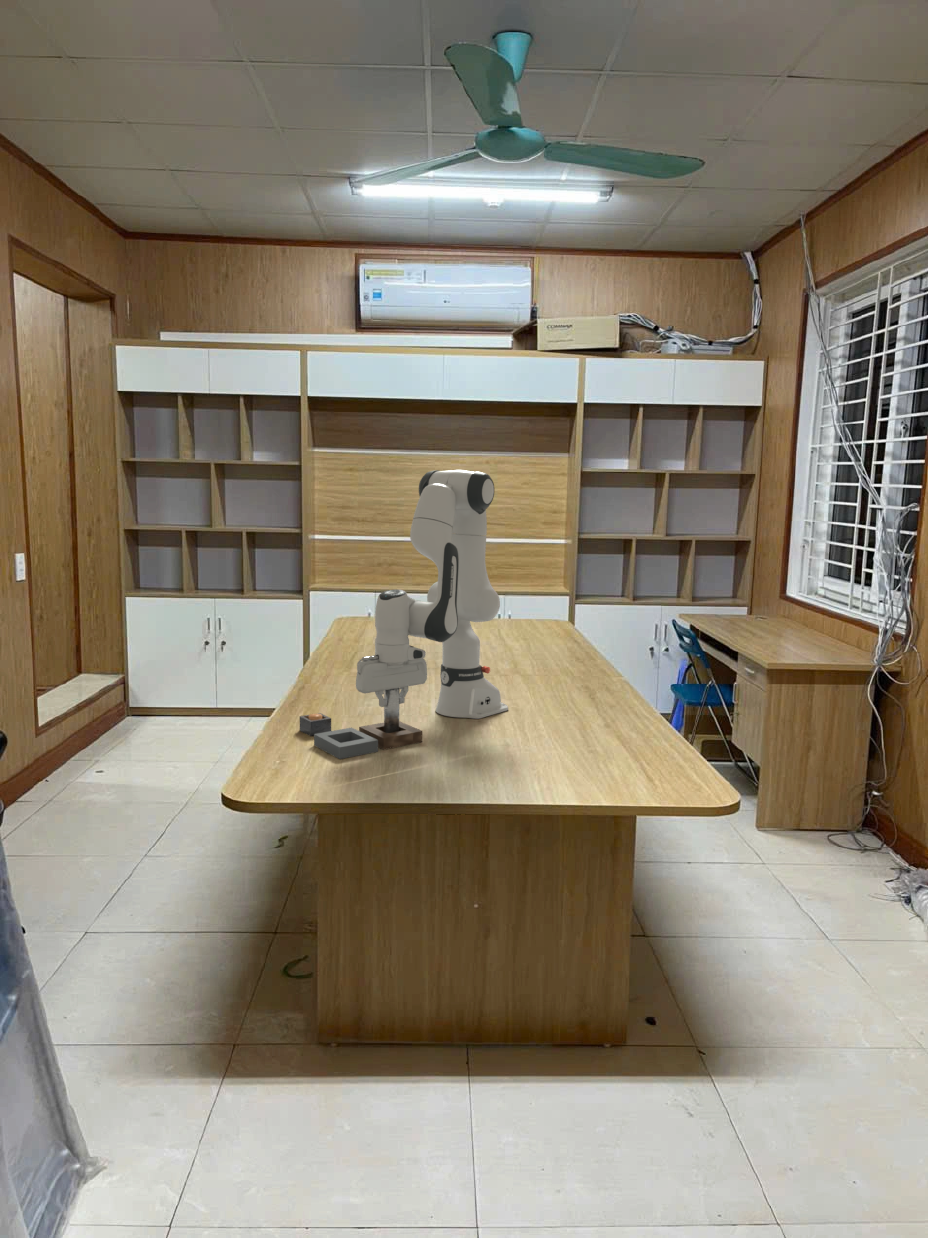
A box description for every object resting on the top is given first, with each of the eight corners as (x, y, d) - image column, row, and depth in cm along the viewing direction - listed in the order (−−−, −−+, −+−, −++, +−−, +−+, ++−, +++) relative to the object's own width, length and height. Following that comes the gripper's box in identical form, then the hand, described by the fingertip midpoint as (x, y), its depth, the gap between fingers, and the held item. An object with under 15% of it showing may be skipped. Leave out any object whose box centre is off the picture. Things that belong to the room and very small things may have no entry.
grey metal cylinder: (393, 729, 226) (394, 685, 224) (402, 733, 222) (402, 689, 220) (381, 732, 223) (381, 687, 221) (389, 735, 220) (389, 691, 218)
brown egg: (318, 725, 230) (318, 712, 230) (324, 728, 227) (324, 716, 227) (306, 727, 228) (306, 714, 227) (312, 730, 225) (312, 717, 225)
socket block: (396, 730, 231) (397, 720, 231) (422, 741, 222) (422, 730, 221) (359, 737, 224) (359, 726, 223) (383, 749, 214) (383, 738, 214)
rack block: (351, 738, 223) (351, 727, 222) (377, 751, 213) (378, 740, 212) (314, 745, 216) (314, 734, 216) (339, 759, 206) (339, 747, 206)
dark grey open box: (320, 727, 232) (320, 712, 232) (331, 732, 227) (331, 718, 227) (299, 730, 228) (299, 716, 228) (310, 736, 224) (310, 721, 223)
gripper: (364, 659, 210) (363, 713, 213) (430, 650, 223) (430, 701, 225) (351, 655, 215) (351, 707, 218) (417, 646, 228) (416, 696, 230)
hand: (391, 704), depth 221 cm, fingers closed on grey metal cylinder, 4 cm apart
